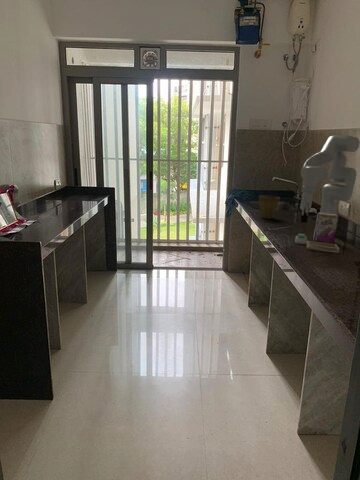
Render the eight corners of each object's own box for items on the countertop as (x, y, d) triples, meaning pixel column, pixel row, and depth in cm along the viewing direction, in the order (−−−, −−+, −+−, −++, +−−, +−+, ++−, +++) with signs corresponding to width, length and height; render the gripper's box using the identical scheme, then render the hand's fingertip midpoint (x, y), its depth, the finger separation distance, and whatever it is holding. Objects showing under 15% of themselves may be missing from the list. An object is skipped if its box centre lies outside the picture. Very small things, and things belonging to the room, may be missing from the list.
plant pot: (277, 220, 261) (280, 198, 257) (257, 218, 263) (259, 197, 259) (275, 216, 275) (278, 196, 271) (256, 214, 277) (258, 194, 273)
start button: (297, 238, 206) (298, 233, 205) (304, 238, 205) (304, 234, 204) (297, 239, 202) (298, 234, 201) (304, 240, 201) (305, 235, 201)
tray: (305, 244, 200) (306, 240, 200) (335, 248, 197) (336, 244, 196) (307, 249, 191) (308, 245, 191) (338, 252, 188) (339, 248, 187)
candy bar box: (313, 241, 209) (318, 213, 204) (312, 239, 213) (317, 212, 209) (334, 243, 206) (339, 215, 201) (332, 241, 210) (337, 214, 206)
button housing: (295, 240, 207) (295, 235, 206) (305, 241, 206) (305, 236, 205) (295, 243, 202) (296, 237, 201) (306, 244, 201) (306, 239, 200)
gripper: (300, 187, 204) (295, 219, 208) (302, 190, 190) (297, 224, 194) (314, 188, 202) (309, 220, 207) (317, 191, 188) (311, 225, 193)
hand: (303, 222), depth 201 cm, fingers closed
